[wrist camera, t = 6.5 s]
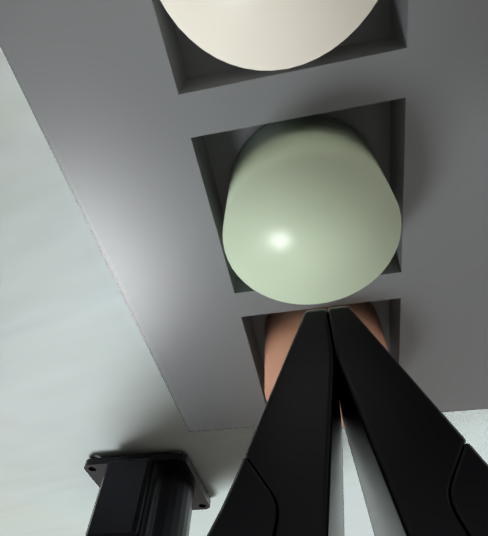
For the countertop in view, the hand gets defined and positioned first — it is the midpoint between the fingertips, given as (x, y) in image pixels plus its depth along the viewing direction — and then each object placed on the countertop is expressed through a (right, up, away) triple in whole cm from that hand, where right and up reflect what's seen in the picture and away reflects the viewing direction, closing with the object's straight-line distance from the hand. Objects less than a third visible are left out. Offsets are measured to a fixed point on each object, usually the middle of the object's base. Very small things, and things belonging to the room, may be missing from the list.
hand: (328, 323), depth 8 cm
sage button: (0, +4, +5) cm, 6 cm away
